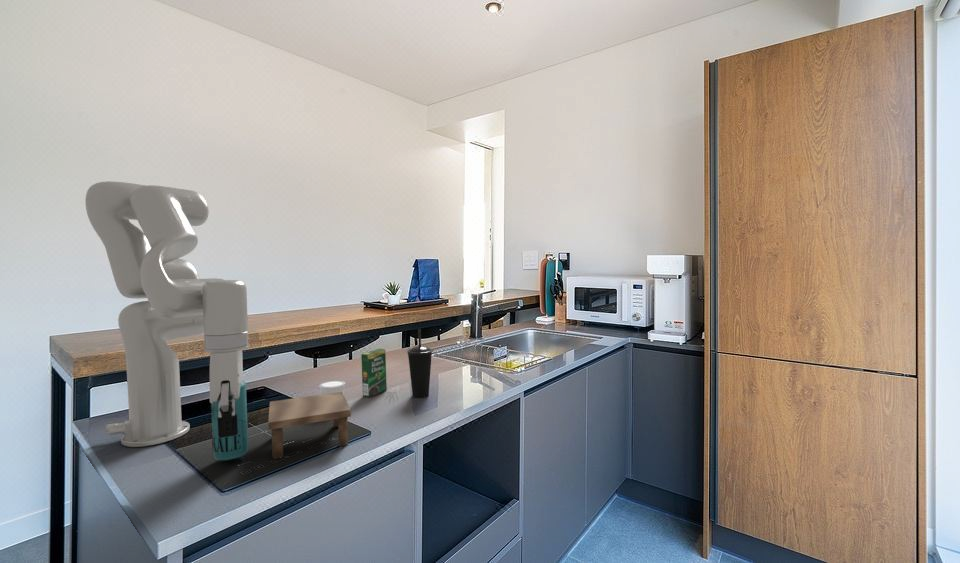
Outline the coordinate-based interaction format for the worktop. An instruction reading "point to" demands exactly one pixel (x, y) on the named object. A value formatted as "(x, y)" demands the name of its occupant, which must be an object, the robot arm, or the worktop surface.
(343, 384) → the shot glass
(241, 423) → the beverage bottle
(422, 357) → the drinking cup
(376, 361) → the coffee box
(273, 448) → the walnut stool
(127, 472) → the worktop surface
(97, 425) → the worktop surface
